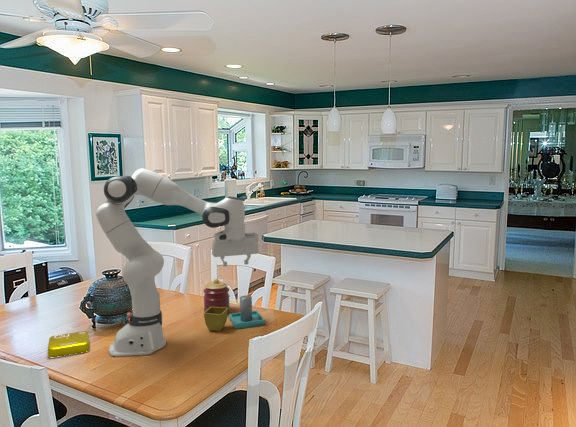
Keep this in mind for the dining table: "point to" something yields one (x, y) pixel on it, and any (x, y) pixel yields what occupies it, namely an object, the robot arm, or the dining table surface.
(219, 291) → the canister
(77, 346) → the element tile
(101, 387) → the dining table surface
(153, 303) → the robot arm
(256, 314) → the tray
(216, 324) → the flower pot
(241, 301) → the dark grey cylinder
